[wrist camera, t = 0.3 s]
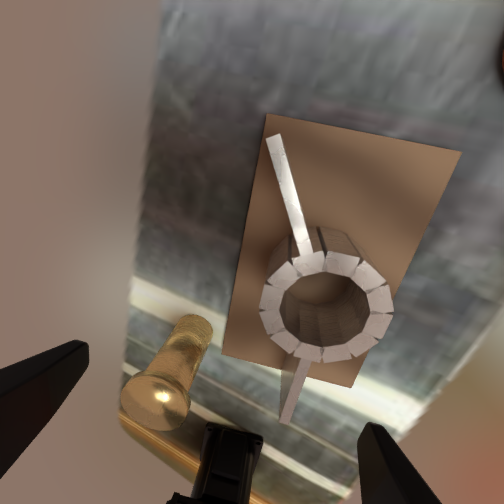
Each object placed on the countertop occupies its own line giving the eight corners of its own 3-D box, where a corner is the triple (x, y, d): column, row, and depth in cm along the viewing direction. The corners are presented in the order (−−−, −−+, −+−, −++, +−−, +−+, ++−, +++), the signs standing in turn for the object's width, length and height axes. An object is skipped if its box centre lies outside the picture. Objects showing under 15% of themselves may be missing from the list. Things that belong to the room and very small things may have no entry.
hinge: (325, 380, 23) (334, 437, 19) (229, 355, 24) (213, 404, 19) (414, 165, 16) (463, 170, 12) (274, 136, 17) (266, 130, 12)
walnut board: (348, 379, 24) (351, 388, 23) (223, 346, 25) (221, 353, 24) (452, 152, 16) (462, 152, 16) (268, 115, 17) (266, 113, 16)
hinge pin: (215, 354, 25) (182, 438, 18) (170, 342, 26) (120, 420, 18) (221, 316, 24) (189, 391, 16) (173, 304, 24) (120, 372, 16)
